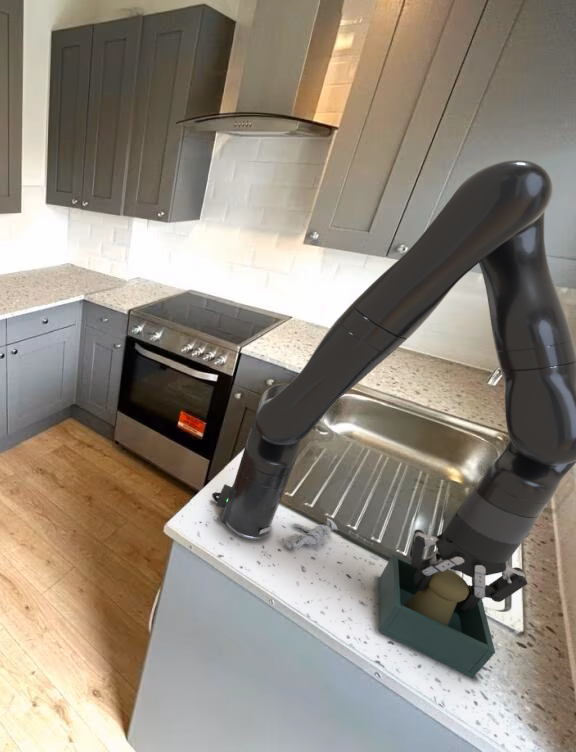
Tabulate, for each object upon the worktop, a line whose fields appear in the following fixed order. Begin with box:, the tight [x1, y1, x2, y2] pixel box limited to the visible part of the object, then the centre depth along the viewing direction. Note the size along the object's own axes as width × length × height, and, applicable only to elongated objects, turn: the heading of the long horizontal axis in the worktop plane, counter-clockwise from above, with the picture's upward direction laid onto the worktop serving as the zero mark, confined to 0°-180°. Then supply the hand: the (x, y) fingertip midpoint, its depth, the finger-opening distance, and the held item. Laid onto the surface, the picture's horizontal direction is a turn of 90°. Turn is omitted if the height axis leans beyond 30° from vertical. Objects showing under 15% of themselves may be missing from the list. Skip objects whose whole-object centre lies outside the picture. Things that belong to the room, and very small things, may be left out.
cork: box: [404, 569, 469, 626], centre depth 72 cm, size 6×6×11 cm
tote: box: [377, 554, 496, 679], centre depth 73 cm, size 13×13×7 cm
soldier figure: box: [282, 517, 339, 551], centre depth 89 cm, size 8×5×12 cm
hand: (439, 595), depth 72 cm, fingers closed on cork, 5 cm apart
